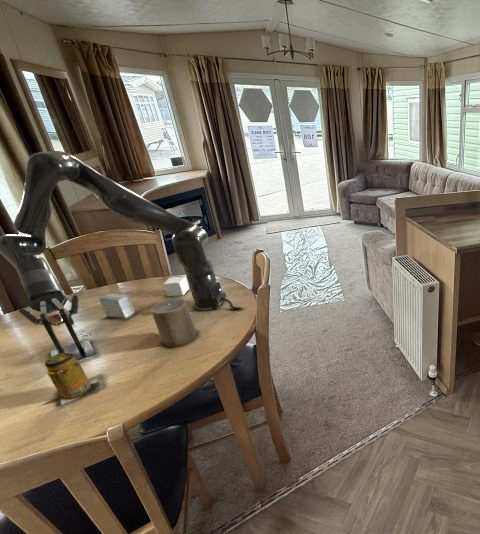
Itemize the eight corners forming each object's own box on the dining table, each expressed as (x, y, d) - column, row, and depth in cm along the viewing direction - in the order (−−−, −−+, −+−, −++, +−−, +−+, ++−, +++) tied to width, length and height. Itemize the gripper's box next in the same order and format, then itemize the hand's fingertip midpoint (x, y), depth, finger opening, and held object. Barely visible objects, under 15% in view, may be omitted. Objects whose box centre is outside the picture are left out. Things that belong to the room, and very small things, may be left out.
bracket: (51, 354, 109) (28, 312, 103) (89, 341, 116) (70, 301, 109) (56, 371, 102) (31, 327, 96) (96, 356, 109) (76, 315, 102)
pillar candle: (202, 335, 120) (191, 299, 114) (172, 351, 112) (158, 312, 106) (187, 327, 124) (175, 292, 118) (157, 341, 116) (142, 304, 110)
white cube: (189, 288, 151) (185, 276, 149) (183, 295, 146) (179, 282, 144) (173, 289, 150) (169, 277, 148) (167, 296, 145) (163, 283, 142)
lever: (52, 328, 111) (47, 318, 111) (68, 323, 114) (63, 313, 113) (48, 326, 101) (43, 315, 101) (65, 321, 104) (60, 310, 103)
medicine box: (137, 314, 132) (129, 294, 128) (126, 320, 128) (118, 300, 124) (118, 312, 132) (110, 293, 129) (107, 318, 128) (98, 298, 125)
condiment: (58, 392, 95) (39, 358, 90) (99, 376, 101) (82, 343, 96) (61, 405, 91) (41, 371, 86) (103, 388, 97) (86, 354, 92)
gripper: (4, 288, 105) (26, 334, 103) (68, 273, 115) (89, 316, 113) (12, 297, 110) (33, 342, 108) (72, 283, 120) (92, 324, 118)
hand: (61, 328), depth 111 cm, fingers closed on lever, 3 cm apart
